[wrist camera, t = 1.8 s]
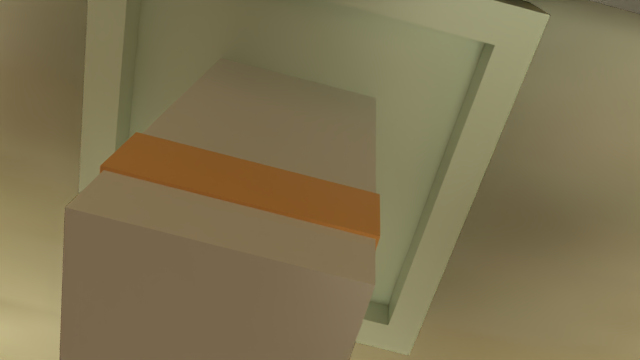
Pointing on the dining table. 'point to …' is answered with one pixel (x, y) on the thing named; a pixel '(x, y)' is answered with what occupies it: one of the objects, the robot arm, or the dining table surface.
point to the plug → (228, 227)
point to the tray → (348, 74)
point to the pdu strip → (622, 4)
